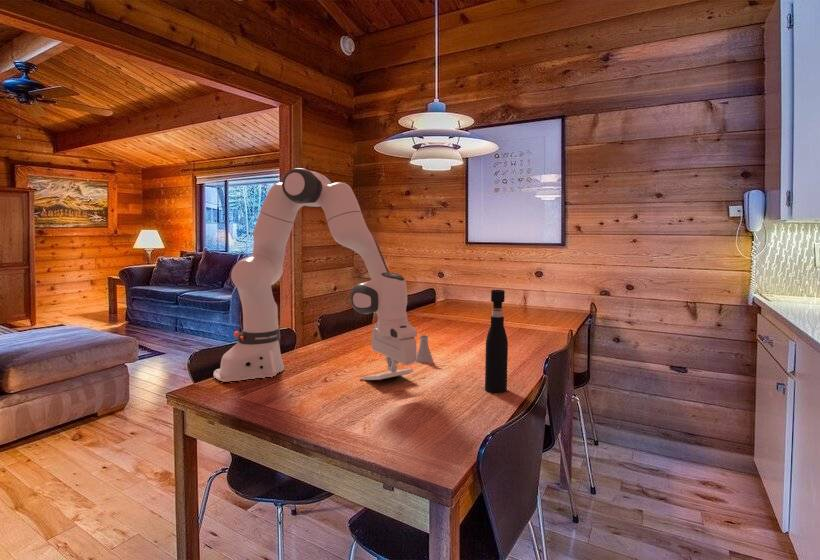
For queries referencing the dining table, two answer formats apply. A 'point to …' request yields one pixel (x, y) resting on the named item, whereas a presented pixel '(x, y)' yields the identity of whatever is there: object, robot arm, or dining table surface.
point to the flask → (424, 351)
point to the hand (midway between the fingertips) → (392, 371)
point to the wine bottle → (496, 348)
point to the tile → (388, 374)
